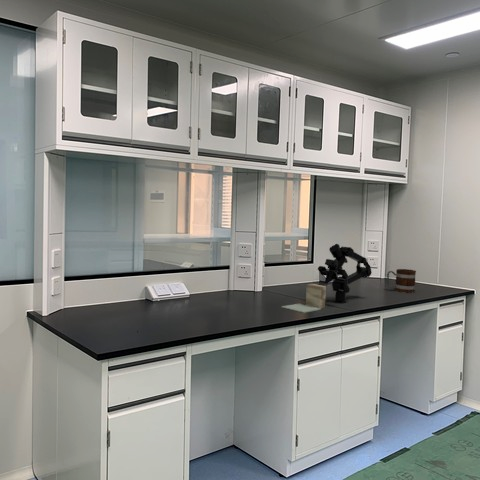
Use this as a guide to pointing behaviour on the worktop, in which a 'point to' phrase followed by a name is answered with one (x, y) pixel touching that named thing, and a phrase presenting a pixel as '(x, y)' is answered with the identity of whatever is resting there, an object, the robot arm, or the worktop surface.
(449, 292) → the worktop surface
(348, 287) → the robot arm
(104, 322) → the worktop surface
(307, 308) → the mat
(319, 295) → the birch block
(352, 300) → the worktop surface
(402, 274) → the mug
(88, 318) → the worktop surface
